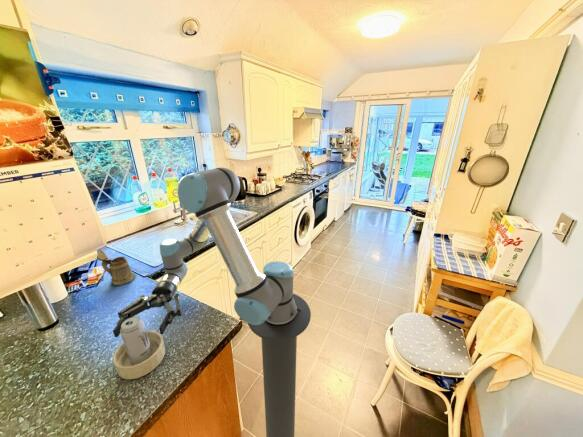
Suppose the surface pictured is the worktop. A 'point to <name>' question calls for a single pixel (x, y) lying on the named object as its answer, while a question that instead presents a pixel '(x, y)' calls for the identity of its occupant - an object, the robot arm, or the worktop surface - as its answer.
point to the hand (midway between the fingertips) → (138, 332)
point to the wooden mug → (116, 268)
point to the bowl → (145, 367)
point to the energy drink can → (135, 340)
